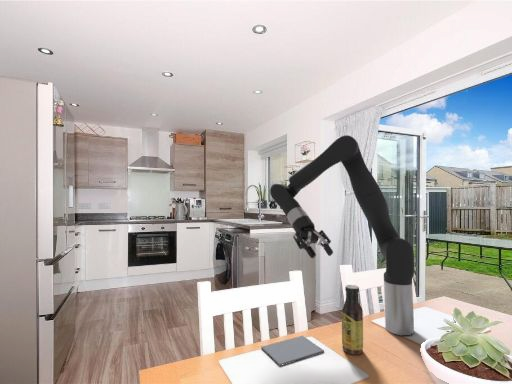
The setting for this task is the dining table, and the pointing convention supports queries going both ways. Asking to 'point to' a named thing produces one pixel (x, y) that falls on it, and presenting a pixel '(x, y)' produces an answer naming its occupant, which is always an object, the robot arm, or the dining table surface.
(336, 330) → the dining table surface
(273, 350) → the gray mat
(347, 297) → the sauce bottle
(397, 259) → the robot arm
